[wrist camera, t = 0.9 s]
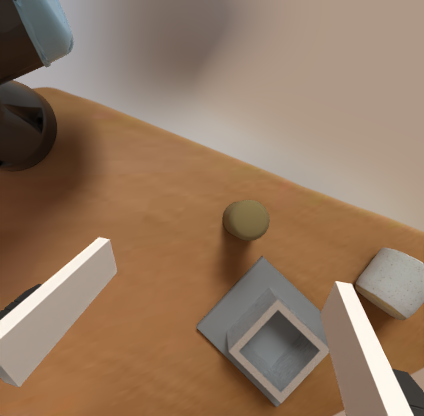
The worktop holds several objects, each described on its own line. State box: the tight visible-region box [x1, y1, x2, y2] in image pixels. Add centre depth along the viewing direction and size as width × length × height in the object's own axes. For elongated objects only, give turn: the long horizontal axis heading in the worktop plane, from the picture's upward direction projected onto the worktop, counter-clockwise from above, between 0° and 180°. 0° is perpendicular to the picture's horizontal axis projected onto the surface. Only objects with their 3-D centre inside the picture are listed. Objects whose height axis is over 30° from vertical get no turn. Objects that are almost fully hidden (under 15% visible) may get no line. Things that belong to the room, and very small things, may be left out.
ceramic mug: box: [355, 248, 424, 320], centre depth 31 cm, size 11×8×8 cm
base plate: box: [197, 256, 329, 407], centre depth 34 cm, size 18×16×1 cm
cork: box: [223, 200, 269, 241], centre depth 30 cm, size 6×6×11 cm
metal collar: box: [227, 287, 330, 403], centre depth 31 cm, size 10×10×5 cm
